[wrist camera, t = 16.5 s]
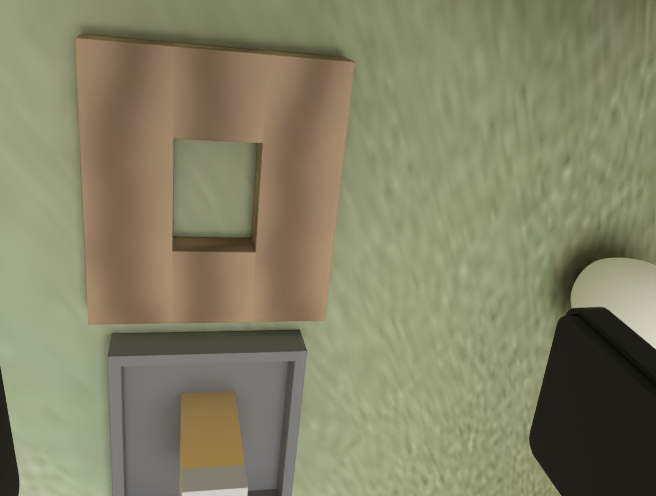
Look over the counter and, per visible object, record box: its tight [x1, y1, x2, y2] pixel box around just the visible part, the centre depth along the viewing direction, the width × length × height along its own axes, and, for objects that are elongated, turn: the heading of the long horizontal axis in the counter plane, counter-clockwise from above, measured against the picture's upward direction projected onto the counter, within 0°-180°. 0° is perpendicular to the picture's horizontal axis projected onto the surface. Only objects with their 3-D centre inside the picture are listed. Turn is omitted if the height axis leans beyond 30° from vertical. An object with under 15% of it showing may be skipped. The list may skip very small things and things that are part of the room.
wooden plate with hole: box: [75, 34, 355, 325], centre depth 41 cm, size 16×18×2 cm
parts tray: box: [108, 330, 307, 496], centre depth 48 cm, size 14×16×3 cm
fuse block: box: [179, 391, 248, 496], centre depth 44 cm, size 4×6×10 cm, turn 174°
